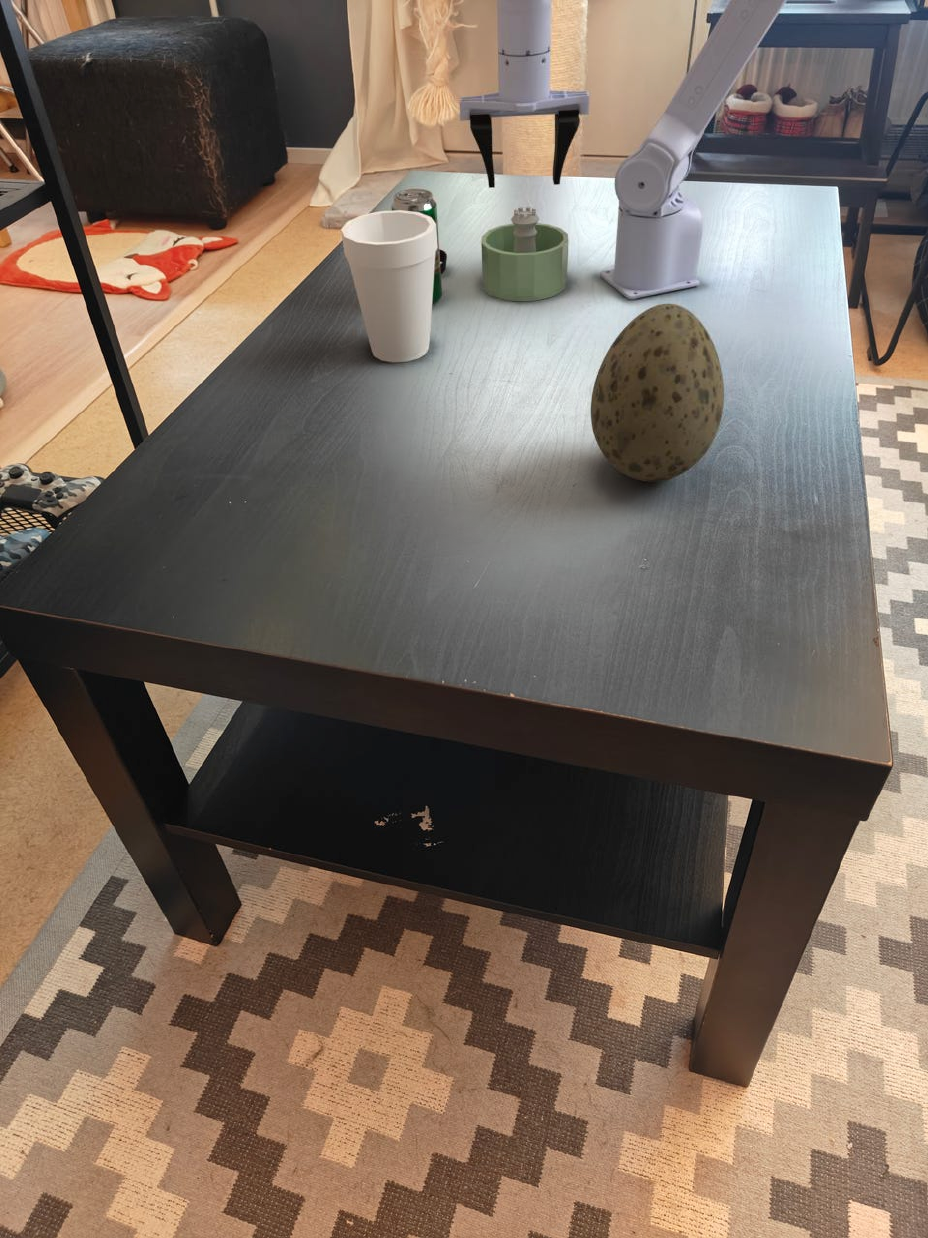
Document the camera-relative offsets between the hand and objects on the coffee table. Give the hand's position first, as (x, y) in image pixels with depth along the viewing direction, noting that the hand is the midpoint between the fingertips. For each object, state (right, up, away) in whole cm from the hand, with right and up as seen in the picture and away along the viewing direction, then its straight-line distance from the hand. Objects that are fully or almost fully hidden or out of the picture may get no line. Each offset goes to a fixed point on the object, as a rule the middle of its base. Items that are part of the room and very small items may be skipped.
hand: (523, 183), depth 106 cm
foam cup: (-14, -22, -8) cm, 28 cm away
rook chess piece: (0, -11, +3) cm, 11 cm away
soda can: (-12, -14, +1) cm, 19 cm away
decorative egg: (+9, -39, -28) cm, 49 cm away
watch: (-13, -9, +6) cm, 17 cm away
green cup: (0, -11, +3) cm, 11 cm away
